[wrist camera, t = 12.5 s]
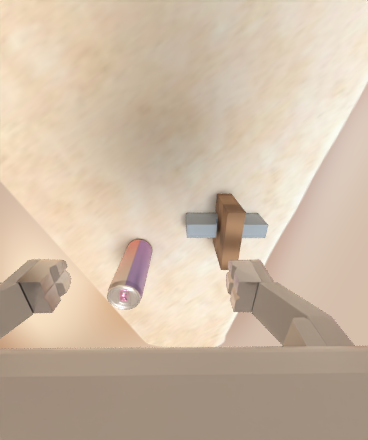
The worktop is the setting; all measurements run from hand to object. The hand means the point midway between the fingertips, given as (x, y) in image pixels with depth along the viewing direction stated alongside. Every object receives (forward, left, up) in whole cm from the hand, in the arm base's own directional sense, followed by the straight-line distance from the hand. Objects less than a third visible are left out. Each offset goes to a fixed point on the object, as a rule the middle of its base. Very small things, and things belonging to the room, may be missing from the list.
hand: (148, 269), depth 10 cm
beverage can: (+20, -8, -31) cm, 38 cm away
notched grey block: (+12, +11, -31) cm, 35 cm away
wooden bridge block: (+12, +11, -31) cm, 35 cm away
